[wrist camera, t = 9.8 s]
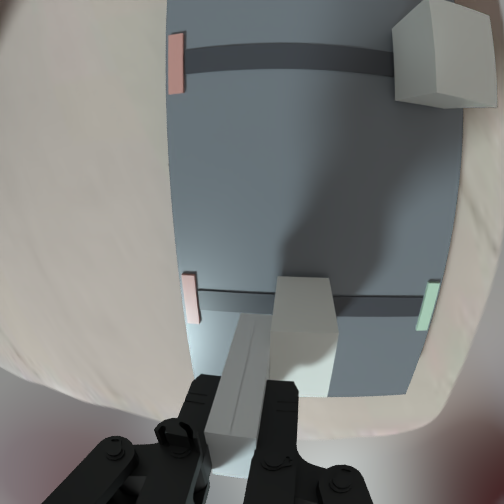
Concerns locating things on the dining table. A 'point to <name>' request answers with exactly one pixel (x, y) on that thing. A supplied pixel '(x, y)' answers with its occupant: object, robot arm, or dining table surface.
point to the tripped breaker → (303, 334)
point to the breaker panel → (307, 178)
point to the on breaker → (445, 57)
